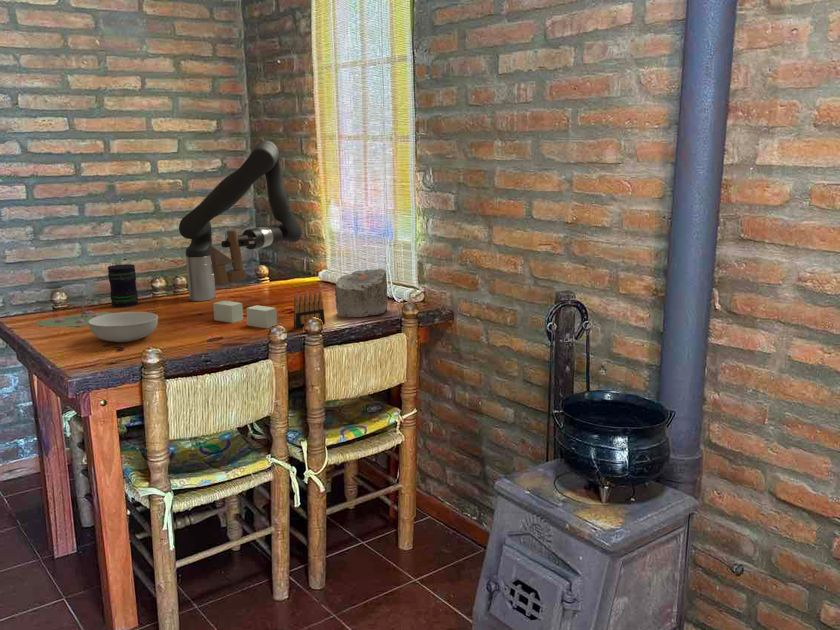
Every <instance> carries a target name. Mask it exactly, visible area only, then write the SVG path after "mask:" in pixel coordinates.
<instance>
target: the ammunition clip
mask: <svg viewBox="0 0 840 630" xmlns="http://www.w3.org/2000/svg"><path fill="white" fill-rule="evenodd" d="M322 293H323V292H322V290H321V288H319V289H318V293H317V290H316V289H314V290H313V292H312V290H311V289H310V290H309V292H308V293H307V291H306V290H305V291H304V295H303V293H302V291H300V292H299V294H298V293H297V292H296V291H295V292H294V296H293V297H294V298H293V300H294V301H293V328H295V329H299V328H301V329H302V328H305V327H304V322H305V321H306V320H307V319H308V318H311V317H316V318H319V319H321V320H322V322H323V324H322V325H325V324H326V319H325V309H324V302H323V301H324V300H323V295H322ZM298 295H299V296H298Z"/></svg>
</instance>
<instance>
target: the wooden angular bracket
mask: <svg viewBox="0 0 840 630" xmlns="http://www.w3.org/2000/svg"><path fill="white" fill-rule="evenodd" d="M226 235H227V237H226V238H228V241H229V242H230V244H231V246H230V247H228V248H229V253H230V257H229V256H228V255H226V254H224V253H223V252H222V251H220V250H219V249H217V248H216V247H214V246H213V245H212V246H209V251H210V257H211V268H212V274H214V281H215V285H217V286H219V287H222V286H225V285H228V284H229V283H236V282H239V281H243V280H246V279H248V277H247V272H246V269H245V268H244V264H243V258H242V253H241V247H239V243H238V235H239V233H238V230H237V229H236V228H235V229H234V228H233V229H228V230H226ZM230 263H231V265H232V266H231V267H232V270H228V271H227V266H226V264H230Z"/></svg>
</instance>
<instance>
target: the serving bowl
mask: <svg viewBox="0 0 840 630" xmlns="http://www.w3.org/2000/svg"><path fill="white" fill-rule="evenodd" d="M110 313H111V314H106V315H101V316H97V317H94V318H92V319H90V320H89V321H88V324H89V325H88V327H89V330H90V332H91V333H92V334H93V336H95V337H96V338H97V339H100V340H103V341H107V342H113V343H130V342H134V341H135V342H136V341H138V340H140V339H143V338H145V337H148V336H149V335H151V334H152V333H153V332H154V331H155V330H156V328H157V327H158V323H159V316H158V314H156V313H153V312H147V311H122V312H110Z"/></svg>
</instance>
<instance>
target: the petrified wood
mask: <svg viewBox="0 0 840 630" xmlns="http://www.w3.org/2000/svg"><path fill="white" fill-rule="evenodd" d="M387 282H388V281H387V270H385V269H383V268H379V269H366V270H355V271H354V272H352V273H349V274H347V275H342V276H340V277H339V278H338V279H337V281H336V283H335V287H334V291H335V293H334V296H335V299H334V300H335V308H336V314H337V315H338V317H340V318H363V317H371V316H378V315H381V314H382V315H383V314H385V312H386V311H387V310H388V304H389V303H388V283H387Z"/></svg>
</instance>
